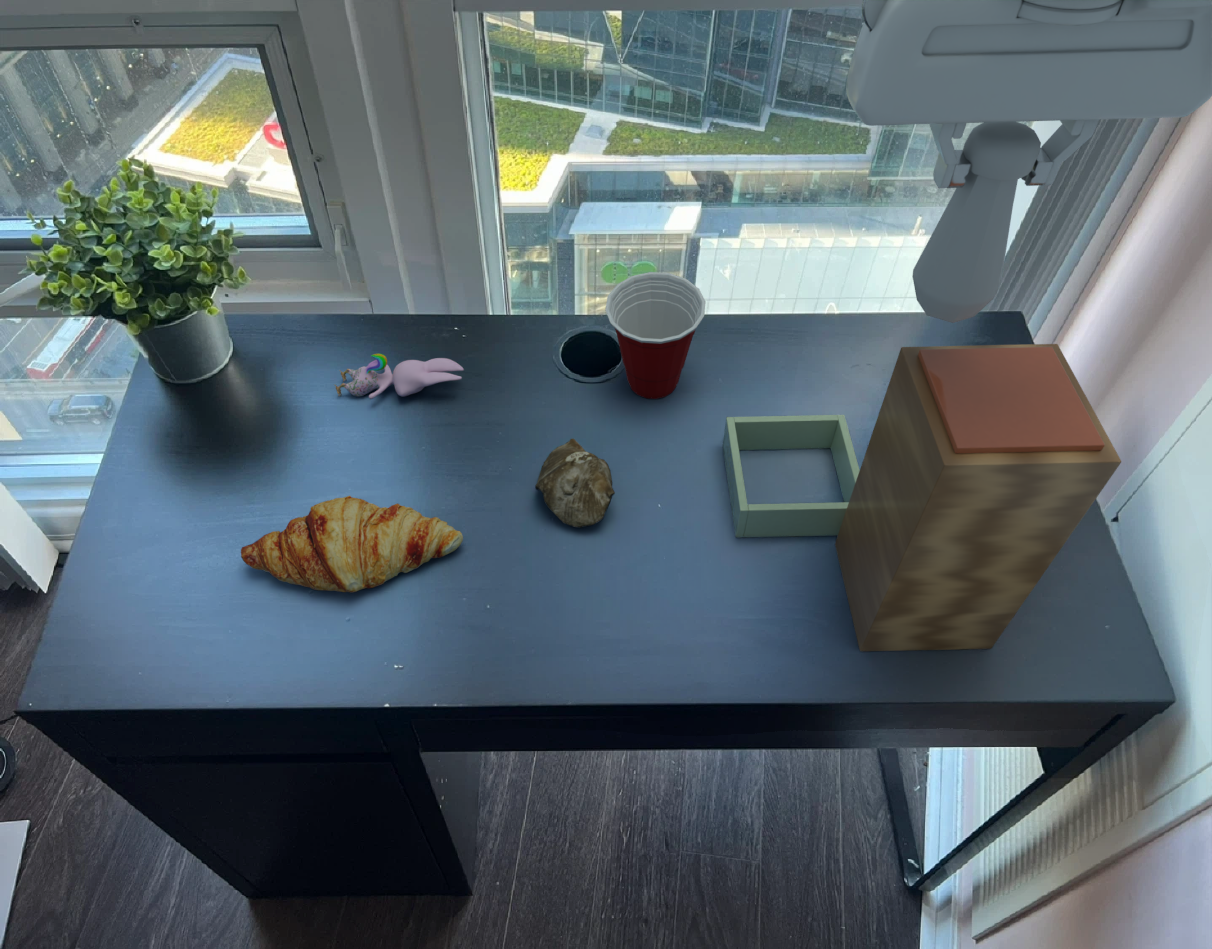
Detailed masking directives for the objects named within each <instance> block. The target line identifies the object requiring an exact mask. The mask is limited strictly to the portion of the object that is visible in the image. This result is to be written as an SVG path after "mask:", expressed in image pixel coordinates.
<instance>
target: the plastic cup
mask: <svg viewBox="0 0 1212 949" xmlns="http://www.w3.org/2000/svg"><path fill="white" fill-rule="evenodd" d="M706 303H707V302H706V300H705V297H704V295H703V294H702V291H701V290H700V288H699V287H698V286H696V285H695V284H693V283H692V282H691V281H690V280H688V278H686V277H682V276H679V275H675V274H674V273H670V272H659V271H658V272H657V271H649V272H644V273H640V274H635V275H631V276H629V277H628V278H625V279H624V280H622V281H620V282H619V283H617V284H616V285H615V286H614V287H613V289H612V290H611V291H610V293H609V294H608V295H607V297H606V303H605V309H604V310H605V312H606V313H605V314H606V315H607V318H608V320H609V323H610V325H611V326H612V327H613V328H614V330H615V332H616V337H617V342H618V346H619V351H620V355H621V358H622V364H623V367H624V370H625V374H626V380H627V382H628V385H629V387H630V389H631V391H633V392H634V394H636V395H637V396H640V397H642V398H644V399H653V400H656V399H661V398H665V397H667V396H669V395H671V394H672V393H673V392H674V391H675V389H676V387H677V385H678V384H679V382H680V378H681V374H682V370H683V369H684V367H685V363H686V360H687V357H688V354H689V350H690V347H691V343H692V340H693V337H694V335H695V333H696V330H697V328H698V327H699V325H700V323H701V322H702V321H703V319H704V318H705V314H706Z"/></svg>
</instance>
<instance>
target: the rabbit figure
mask: <svg viewBox="0 0 1212 949" xmlns="http://www.w3.org/2000/svg"><path fill="white" fill-rule="evenodd" d="M370 357H373V358H374V360H372V361H371V362H369V363H368V364H367V366H360V367H359V368H357V369H351V368H346V370H344V371H342V370H340V369H338V371H339V373H340V376H341V378H342V380H343V381H342V383H341V384H340V385H338V386H337V384H334V387H335V390H336V392H337V395H338V397H342V395H343V394H342V389H341V388H344V389H345V390H347V392H349V393H350V394H351V395H352V396H354V397H363V396H365V395H366V394H369V393H370V394H369V395H368V399H370V400H371V399H374V398H375V397H378V396H379V395H380V394H382V393H383V392H384V391H385V390H387V389H388V387H390V386H392V385H394V390H395V393H396V394H397V395H398V396H400V397H407V396H410V395H414V394H417V393H419V392H422V390H423V389H424V388H425V387H429V386H433V385H435V384H439V383H444V382H452V381H460V380H462V379H463V377H462V376H460V375H457V374H453V373H450V372H463V371H465V369H464V368H463V366H462V365H460V364H459V363H457V362H456V361H455V360H452V359H450V358H446V357H437V358H431V359H429V360H426V361H422V360H418V359H407V360H403V361H401V362H399V363H398V364H397V365H396V366H395V367H394V369H393V371H392V370H391V368H390V366H389V364H388V358H387V356H386V355H384V354H383V353H374V354H372V355H370ZM382 370H384V372H383V373H378V372H379V371H382ZM377 371H378V372H377ZM347 374H348V375H349V376H350V377H351V379H352V381H350V382H348V383H344V382H347ZM375 389H377V390H376V391H374V390H375ZM372 391H374V392H372ZM371 392H372V393H371Z"/></svg>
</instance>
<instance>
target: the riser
mask: <svg viewBox="0 0 1212 949" xmlns="http://www.w3.org/2000/svg"><path fill="white" fill-rule="evenodd" d="M1017 347H1053V349H1054V351H1055V353H1056V355H1057V357H1058V358H1059V360H1060V362H1061V364H1062V366H1063V368H1064V370H1065V371H1066V373H1067V375H1068V377H1069V379H1070V381H1071V383H1072V385H1073V386H1074V388H1075V390H1076V392H1077V394H1078V396H1079V398H1080V399H1081V401H1082V403H1083V405H1084V407H1085V409H1086V411H1087V412H1088V414H1089V416H1090V418H1091V420H1092V422H1093V424H1094V425H1095V427H1096V429H1097V431H1098V433H1099V435H1100V437H1101V438H1102V440H1103V442H1104V444H1105V446H1104V447H1103V449H1102V450H1101V451H1054V452H1005V453H955V452H954V449H953V446H952V444H951V441H950V438H949V436H948V433H947V430H946V428H945V425H944V423H943V420H942V417H941V415H940V412H939V409H938V407H937V404H936V401H935V399H934V396H933V394H932V391H931V388H930V386H929V383H928V380H927V378H926V375H925V372H924V370H923V367H922V365H921V362H920V359H919V357H918V353H919V351H920V349H968V348H1017ZM885 391H886V392H885V395H884V396H883V397H884V398H883V400H882V402H881V407H880V409H879V412H878V415H877V417H876V421H875V424H874V426H873V431H872V433H871V436H870V439H869V441H868V445H867V447H866V450H865V454H864V457H863V458H862V462H861V466H860V467H859V470H860V471H859V474H858V477H857V480H856V483H855V486H854V489H853V492H852V495H851V498H850V501H849V504H848V507H847V510H846V513H845V516H844V518H843V521H842V524H841V527H840V530H839V533H838V535H836V536H837V537H836V540H835V542H834V547H835V551H836V555H837V559H838V564H839V568H840V573H841V576H842V580H843V584H844V589H845V593H846V597H847V601H848V607H849V611H850V615H851V618H852V623H853V626H854V627H853V628H854V632H855V637H856V640H857V645H858V648H859V652H893V651H894V652H896V651H898V652H901V651H902V652H904V651H944V650H945V651H949V650H951V651H952V650H990V649H991V650H992V649H993V647H994V646H995V644H996V643H997V641H998V640H999V638H1000V637H1001V636H1002V634H1003V633H1004V632H1005V631H1006V629H1007V627H1008V626H1009V624H1010V623H1011V621H1012V620H1013V619H1014V617H1015V615H1016V614H1017V612H1018V611H1019V610H1020V608H1021V607H1022V606H1023V604H1024V603H1025V601H1026V600H1027V598H1028V597H1029V595H1030V594H1031V593H1032V591H1033V590H1034V589H1035V587H1036V586H1037V584H1038V583H1039V582H1040V580H1041V578H1042V577H1043V575H1044V574H1045V573H1046V571H1047V569H1049V567H1050V565H1051V564H1052V562H1054V560H1055V558H1057V555H1058V554H1059V552H1060V551H1061V550H1062V548H1063V547H1064V545H1065V544H1066V542H1067V541H1068V540H1069V538H1070V536H1071V535H1072V534H1073V532H1074V531H1075V530H1076V528H1077V527H1078V525H1079V524H1080V523H1081V521H1082V520H1083V518H1084V517H1085V515H1086V514H1087V512H1088V511H1089V510H1090V508H1091V507H1092V505H1093V504H1094V502H1095V501H1096V500H1097V498H1098V497H1099V495H1100V494H1101V492H1102V491H1103V489H1104V488H1105V486H1106V485H1107V483H1108V482H1109V481H1110V480H1111V478H1112V477H1113V475H1114V474H1115V472H1116V471H1117V470H1118V468H1119V466H1120V465H1121V464H1122V459H1121V458H1120V456H1119V454H1118V452H1117V449H1115V447H1114V444H1113V443H1112V441H1111V439H1110V437H1109V436H1108V434H1107V432H1106V430H1105V428H1104V426H1103V425H1102V422H1101V420H1100V419H1099V417H1098V415H1097V413H1096V412H1095V410H1094V408H1093V406H1092V405H1091V402H1090V401H1089V399H1088V397H1087V394H1085V391H1084V390H1083V388H1082V386H1081V384H1080V382H1079V380H1078V379H1077V377H1076V375H1075V373H1074V372H1073V370H1072V368H1071V366H1070V364H1069V362H1068V360H1067V359H1066V357H1065V355H1064V352H1063V351H1062V350H1061V348H1060V346H1059V344H1058V343H1032V344H1031V343H1030V344H1027V343H1026V344H985V345H984V344H983V345H981V344H980V345H976V344H975V345H934V346H933V345H932V346H929V345H928V346H927V345H926V346H901V347H900V350H899V352H898V356H897V359H896V362H895V364H894V368H893V371H892V373H891V377H890V380H889V382H888V386H887V389H886V390H885Z"/></svg>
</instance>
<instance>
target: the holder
mask: <svg viewBox="0 0 1212 949" xmlns="http://www.w3.org/2000/svg"><path fill="white" fill-rule="evenodd" d="M724 424H725V425H724V432H723V438H722V452H723V459H724V466H725V472H726V480H727V486H728V493H729V499H730V500H729V501H730V509H731V515H732V523H733V529H734V537H735V538H777V537H781V538H782V537H821V536H825V537H826V536H828V537H829V536H838V533H839V530H840V527H841V524H842V521H843V518H844V516H845V513H846V510H847V507H848V504H849V501H850V498H851V495H852V492H853V489H854V486H855V483H856V480H857V477H858V474H859V471H860V466H859V462H858V459H857V456H856V451H855V448H854V445H853V441H852V437H851V434H850V429H849V426H848V423H847V419H846V416H845V414H812V415H807V414H806V415H804V414H803V415H762V416H761V415H759V416H758V415H757V416H727V417H725V423H724ZM805 449H806V450H808V449H812V450H813V449H830V452H831V455H832V459H833V463H834V467H835V472H836V475H837V479H838V484H839V486H840V491H841V494H842V500H843V502H839V501H838V502H796V503H795V502H793V503H790V502H789V503H788V502H787V503H748V498H747V492H746V486H745V485H746V484H745V481H744V479H745V478H744V473H743V466H742V460H741V454H740V451H759V450H761V451H762V450H763V451H764V450H805Z"/></svg>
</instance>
